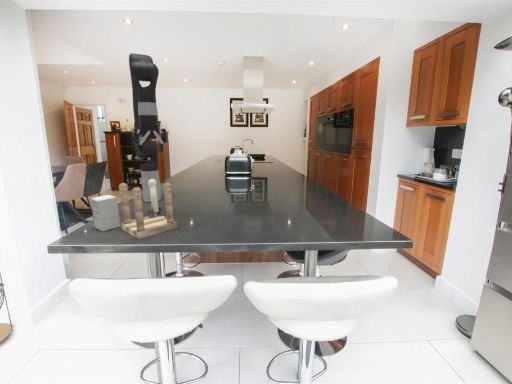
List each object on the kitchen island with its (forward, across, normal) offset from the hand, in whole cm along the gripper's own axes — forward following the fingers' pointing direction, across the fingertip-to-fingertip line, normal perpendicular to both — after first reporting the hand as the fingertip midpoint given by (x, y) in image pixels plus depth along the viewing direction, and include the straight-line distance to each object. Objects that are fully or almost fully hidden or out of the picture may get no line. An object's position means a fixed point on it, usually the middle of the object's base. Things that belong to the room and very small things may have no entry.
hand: (151, 153), depth 116 cm
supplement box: (+29, +20, -2) cm, 36 cm away
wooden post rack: (+29, +9, +12) cm, 32 cm away
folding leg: (+24, +3, +6) cm, 25 cm away
